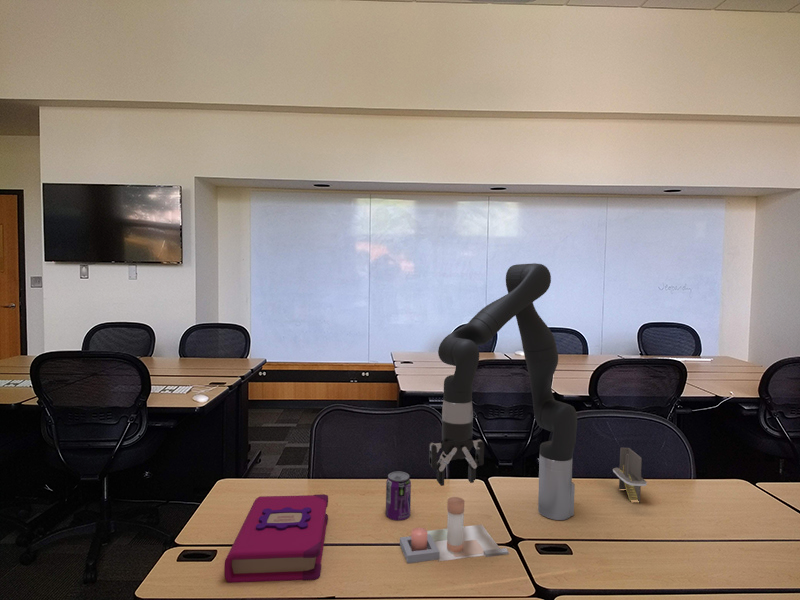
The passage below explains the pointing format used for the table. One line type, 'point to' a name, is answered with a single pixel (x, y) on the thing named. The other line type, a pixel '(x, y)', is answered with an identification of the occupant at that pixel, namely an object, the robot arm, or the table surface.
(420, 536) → the button
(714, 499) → the table surface
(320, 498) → the book
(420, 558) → the button housing
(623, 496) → the table surface
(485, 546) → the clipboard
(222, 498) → the table surface
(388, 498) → the beverage can
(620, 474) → the architectural model
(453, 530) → the marker
